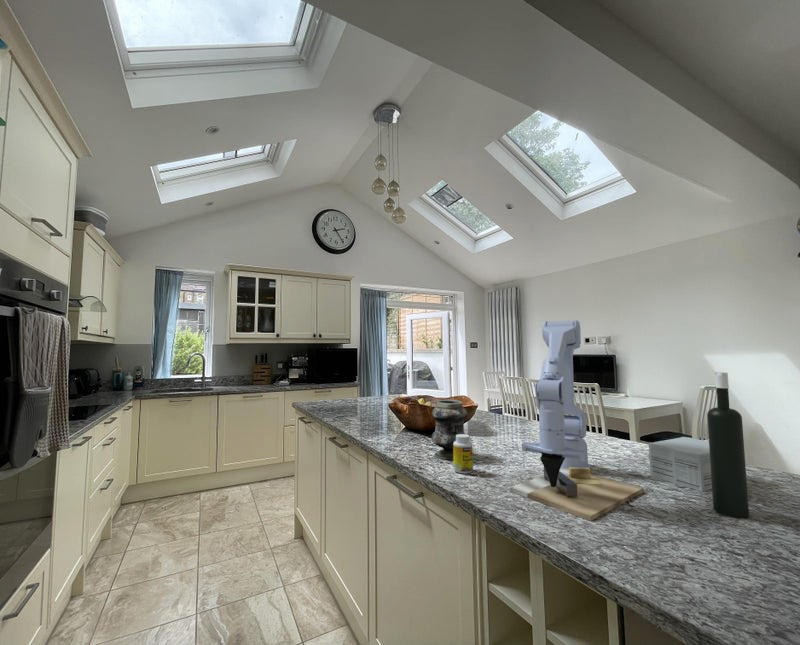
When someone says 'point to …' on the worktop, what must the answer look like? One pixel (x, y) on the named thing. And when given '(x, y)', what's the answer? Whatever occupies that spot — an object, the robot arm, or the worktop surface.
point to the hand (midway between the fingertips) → (553, 486)
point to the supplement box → (682, 462)
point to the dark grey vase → (448, 426)
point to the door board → (580, 493)
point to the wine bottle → (727, 455)
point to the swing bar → (564, 484)
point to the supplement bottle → (463, 454)
